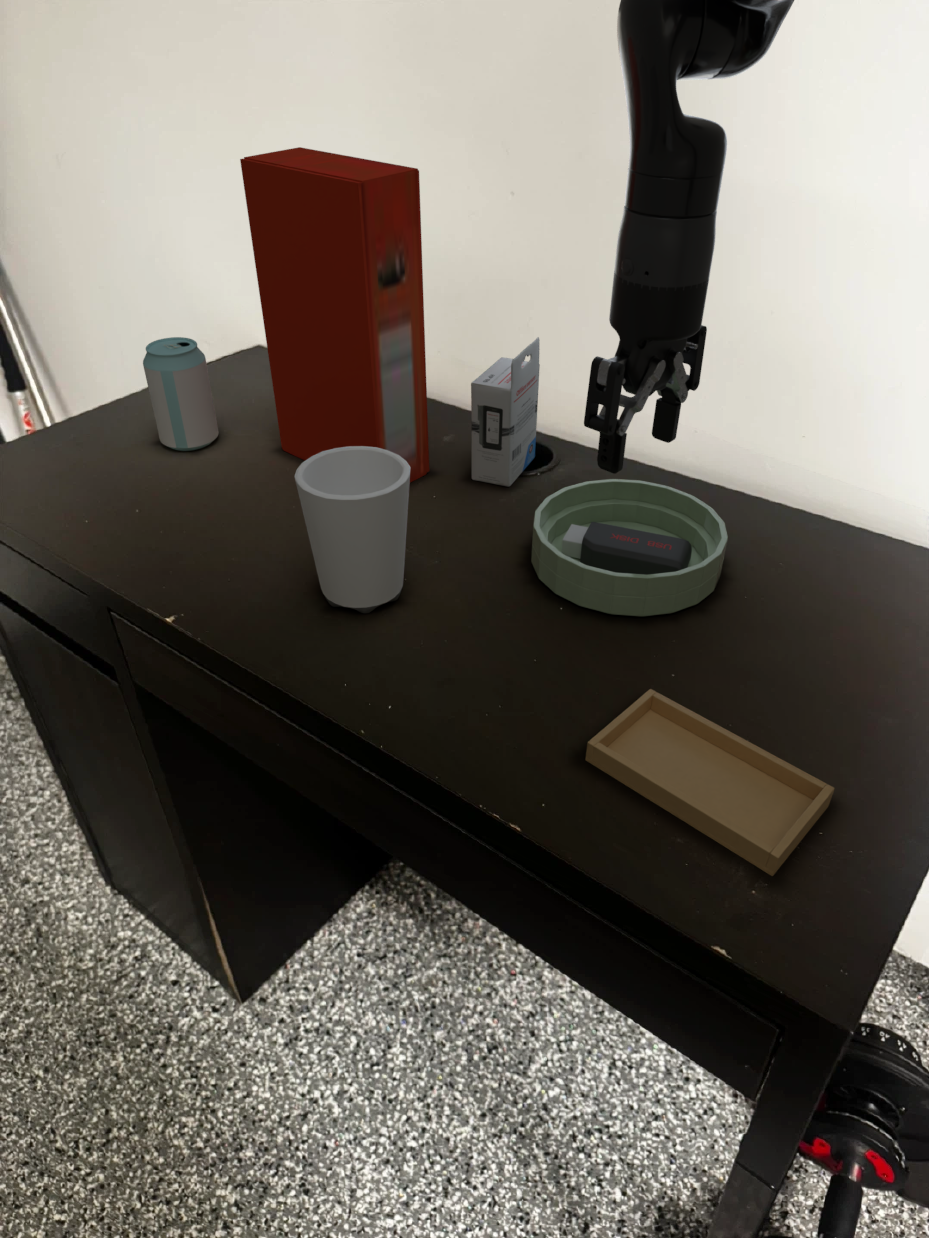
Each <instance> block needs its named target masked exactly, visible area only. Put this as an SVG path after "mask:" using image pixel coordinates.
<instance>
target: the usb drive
mask: <svg viewBox="0 0 929 1238" xmlns="http://www.w3.org/2000/svg"><path fill="white" fill-rule="evenodd" d="M691 553H692V546H691V544H690V543H689V541H687V540H684V539H680V538H676V537H671V536H665V535H660V534H655V533H650V532H645V531H639V530H634V529H629V528H624V527H619V526H613V525H608V524H603V523H597V522H591V524H590V525H589V527H584V526H579V525H574V524H571V526H570V528H569V529H568V531H567V533H566V535H565V536H564V538H563V540H562V554H564V555H566V556H569V557H574V558H579V559H580V562H581V563H583V564H585V565H588V566H592V567H596V568H600V569H604V570H608V571H612V572H616V573H630V574H644V575H649V574H658V573H667V572H676V571H679V570H682V569H685V568H687V567H688V564H689V561H690V559H691Z"/></svg>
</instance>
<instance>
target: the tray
mask: <svg viewBox="0 0 929 1238" xmlns="http://www.w3.org/2000/svg"><path fill="white" fill-rule="evenodd" d="M584 760H585V761H586V762H587V763H589V764H591V765H592V766H594V767H595V768H597V769H598V770H600V771H602V772H604V773H605V774H607V775H608V776H610V777H611V778H613V779H614V780H617V781H618V782H620V783H621V784H623V785H625V786H626V787H628V788H629V789H631V790H633V791H634V792H636V793H637V794H638V795H641V796H642V797H644V798H645V799H647V800H648V801H650V802H652V803H654V804H655V805H656V806H658V807H660V808H662V809H663V810H665V811H666V812H668V813H669V814H671V815H673V816H674V817H676V818H677V819H679V820H681V821H683V823H686V824H687V825H689V826H690V827H692V828H694V829H695V830H697V831H698V832H700V833H702V834H703V835H705V836H706V837H708V838H710V839H711V840H713V841H714V842H716V843H717V844H719V845H721V846H722V847H724V848H726V849H727V850H729V851H731V852H732V853H734V854H736V855H737V856H738V857H740V858H741V859H743V860H745V861H747V862H748V863H750V864H751V865H753V866H755V867H756V868H758V869H759V870H761V871H763V872H765V873H766V874H767V875H769V876H771V877H773V876H774V875H775V874H776V873H777V872H778V870H779V869H780V868H781V867H782V866H783V864H784V863H785V862H786V860H787V859H788V858H789V857H790V855H791V854H792V853H793V852H794V851H795V849H796V848H797V847H798V845H800V843H801V841H802V840H804V838H805V836H806V835H807V834H808V833H809V832H810V830H811V829H812V828H813V826H814V825H816V823H817V822H818V821H819V819H820V818H821V816H822V815H823V814H824V813H825V811H826V810H827V809H828V808H829V806H830V803H831V800H832V798H833V795H834V792H835V788H836V787H834V786H832V785H830V784H828V783H826V782H824V781H822V780H821V779H819V778H817V777H815V776H813V775H811V774H809V773H807V772H806V771H804V770H802V769H800V768H798V767H797V766H795V765H793V764H791V763H789V762H787V761H785V760H784V759H782V758H781V757H778V756H776V755H774V754H772V753H771V752H769V751H767V750H765V749H763V748H762V747H759V746H757V745H756V744H754V743H752V742H750V741H748V740H747V739H745V738H743V737H742V736H739V735H737V734H735V733H733V732H731V731H730V730H728V729H726V728H724V727H722V726H721V725H719V724H717V723H716V722H713V721H712V720H709V719H708V718H706V717H704V716H702V715H700V714H699V713H696V712H695V711H693V710H691V709H689V708H687V707H686V706H683V705H681V704H680V703H678V702H676V701H674V700H672V699H671V698H668V697H667V696H665V695H663V694H661V693H659V692H657V691H656V690H654V689H652V688H650V689H648V690H647V691H646V692H644V693H643V694H642V695H641V696H640V697H638V698H637V700H635V701H633V703H631V704H630V705H629V706H628V707H627V708H626V709H624V710H623V711H622V712H621V713H620V714H619V715H618V716H617V717H615V718H614V719H613V720H612V721H611V722H609V723H608V724H607V725H606V726H604V728H602V729H601V730H600V731H599V732H598V733H596V735H594V736H593V737H592V738H591V739H589V740H588V741H587V744H586V752H585V759H584Z"/></svg>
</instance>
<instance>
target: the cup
mask: <svg viewBox="0 0 929 1238" xmlns="http://www.w3.org/2000/svg"><path fill="white" fill-rule="evenodd" d="M410 468H411V467H410V466H409V464H408V463H407V461H406V460H405V459H403V458H402V457H401V456H399V455H397V454H395V453H393V452H390V451H388V450H385V449H381V448H377V447H368V446H348V447H341V448H334V449H330V450H326V451H322V452H320V453H318V454H316V455H313V456H311V457H310V458H308V459H307V460H303V461H302V462H301V463H300V464H299V466H298V467H297V469H296V470H295V474H294V481H295V485H296V489H297V493H298V498H299V503H300V506H301V511H302V514H303V519H304V524H305V528H306V531H307V535H308V536H307V537H308V541H309V544H310V545H309V546H310V549H311V553H312V556H313V561H314V565H315V570H316V574H317V579H318V582H319V586H320V590H321V592H322V594H323V595H324V597H325V600H326V602H328V604H329V605H330V606H331V607H334V608H339V607H343V608H349V609H351V610H355V611H357V612H359V613H361V614H369V613H371V612H372V611H374V610H375V609H376V608H378V607H380V606H382V605H384V604H386V603H390V602H395V601H398V599H399V597H400V595H401V593H402V589H403V587H404V575H405V562H406V561H405V560H406V546H407V545H406V544H407V529H408V516H409V515H408V513H409V500H410V499H409V497H410V483H411V482H410Z"/></svg>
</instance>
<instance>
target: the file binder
mask: <svg viewBox="0 0 929 1238" xmlns="http://www.w3.org/2000/svg"><path fill="white" fill-rule="evenodd" d="M239 162H240V168H241V174H242V183H243V189H244V194H245V195H244V196H245V203H246V211H247V217H248V224H249V229H250V237H251V244H252V251H253V258H254V265H255V266H254V267H255V271H256V272H255V273H256V280H257V287H258V293H259V299H260V301H259V302H260V306H261V307H260V308H261V313H262V320H263V321H262V322H263V327H264V334H265V341H266V348H267V355H268V356H267V357H268V362H269V368H270V369H269V370H270V377H271V383H272V391H273V396H274V397H273V398H274V404H275V411H276V418H277V424H278V425H277V426H278V430H279V431H278V432H279V438H280V444H281V449H282V450H283V451H284V452H286V453H287V454H290V455H292V456H294V457H296V458H298V459H300V460H303V461H305V460H307V459H308V458H310V457H311V456H313V455H316V454H318V453H320V452H322V451H326V450H330V449H334V448H341V447H348V446H368V447H377V448H381V449H385V450H388V451H390V452H393V453H395V454H397V455H399V456H401V457H402V458H403V459H405V460H406V461H407V463H408V464H409V466H410V467H411V468H410V483H412V482H414V481H417V480H419V479H420V478H422V477H423V476H426V475H427V473H429V472H430V451H429V449H430V447H429V423H428V422H429V419H428V416H429V415H428V389H427V362H426V361H427V359H426V333H425V331H426V330H425V303H424V301H425V300H424V275H423V274H424V273H423V271H424V270H423V246H422V245H423V244H422V243H423V242H422V241H423V240H422V215H421V214H422V213H421V185H420V170H419V168H417V167H412V166H406V165H401V164H394V163H389V162H385V161H379V160H372V159H366V158H361V157H356V156H351V155H345V154H340V153H333V152H328V151H323V150H316V149H311V148H306V147H293V148H288V149H282V150H276V151H271V152H270V151H269V152H266V153H265V152H264V153H259V154H253V155H249V156H244V157H243V158H240V159H239Z"/></svg>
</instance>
